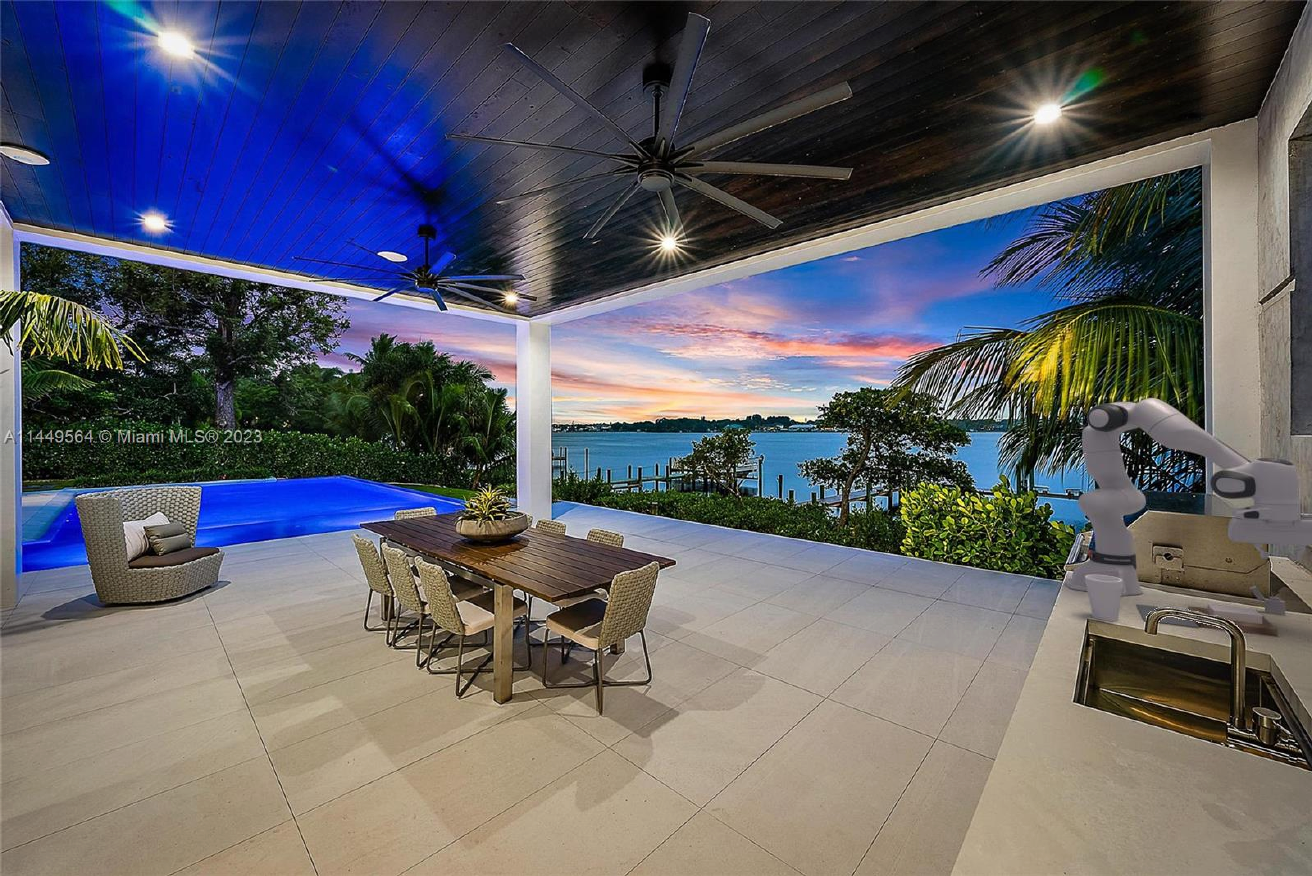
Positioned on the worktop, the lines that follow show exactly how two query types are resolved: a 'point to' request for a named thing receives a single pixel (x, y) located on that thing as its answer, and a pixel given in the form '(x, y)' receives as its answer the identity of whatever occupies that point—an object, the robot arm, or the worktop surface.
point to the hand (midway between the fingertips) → (1279, 559)
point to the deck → (1243, 624)
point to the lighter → (1270, 603)
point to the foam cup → (1104, 596)
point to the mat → (1168, 620)
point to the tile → (1235, 613)
